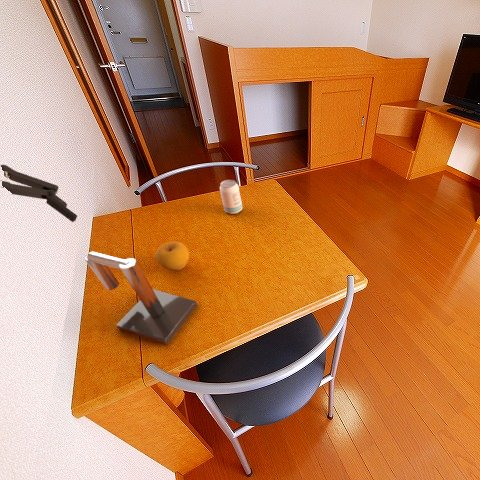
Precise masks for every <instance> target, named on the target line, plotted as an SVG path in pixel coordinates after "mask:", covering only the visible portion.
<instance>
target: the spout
mask: <svg viewBox="0 0 480 480" xmlns="http://www.w3.org/2000/svg"><path fill="white" fill-rule="evenodd" d="M84 261H85V262H86V264H87V265H88V266H89V268H90V269H91V270H92V273H94V274H95V276H96V277H97V279H98V280H99V281H100V282H101V284H102V285H103V287H104V288H105V289H106V290H107V291H112V290H115V289H117V288H118V287H119V286H120V282H119V280H118V279H117V277H116V275H114V273H113V271H112V270H111V268H113V269H118V270H121V272H122V274H123V275H124V277H125V279H126V280H127V281H128V283H129V284H130V287H131V288H132V289H133V291H134V293H135V294H136V295H137V297H138V299H139V301H140V300H141V302H142V303H143V305H144V306H145V308H146V310H147V311H148V313H149V314H150V316H151V317H158V316H160V315H161V314H162V313H163V311H164V309H163V307H162V305H161V303H160V301H159V300H158V298H157V296H156V294H155V293H154V291H153V289H154V288H153V287H152V285H151V284H150V282H149V280H148V278H147V276H146V275H145V274H144V273H145V272H144V271H143V270H142V268H141V267H140V265H139V263H138V261H137V259H136V258H133V257H128V258H126V259H125V258H120V257H116V256H111V255H108V254H105V253H100V252H97V251H90V252H89V253H88V254H87V255H85V256H84Z"/></svg>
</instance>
